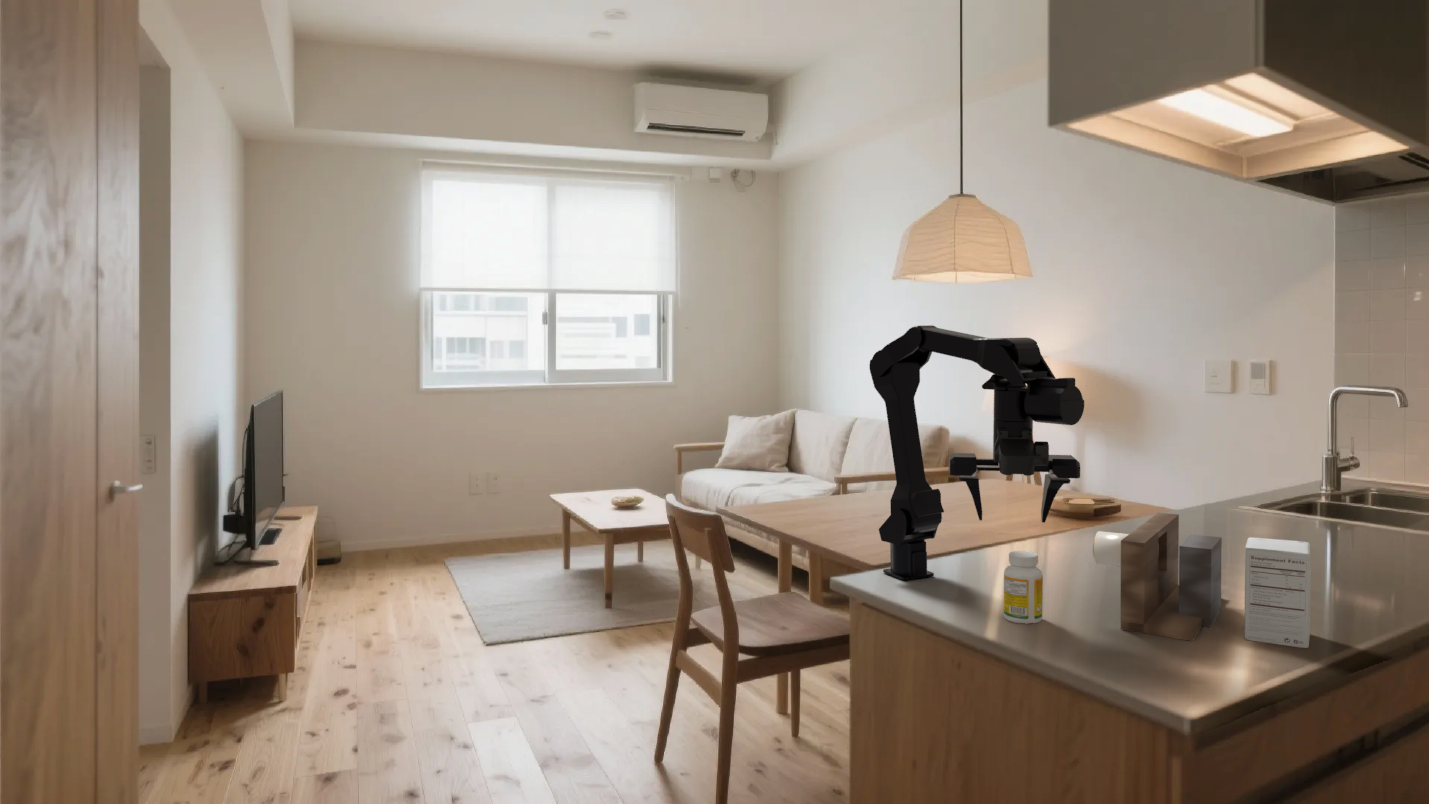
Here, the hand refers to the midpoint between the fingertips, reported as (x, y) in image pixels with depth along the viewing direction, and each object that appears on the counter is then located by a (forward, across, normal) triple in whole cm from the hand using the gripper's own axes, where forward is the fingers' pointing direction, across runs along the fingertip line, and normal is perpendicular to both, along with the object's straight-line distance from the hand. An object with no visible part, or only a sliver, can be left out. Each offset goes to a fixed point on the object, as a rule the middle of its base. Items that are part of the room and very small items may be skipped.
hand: (1011, 521), depth 139 cm
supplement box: (+12, +33, -12) cm, 37 cm away
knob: (+6, +16, 0) cm, 18 cm away
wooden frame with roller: (+12, +23, -3) cm, 26 cm away
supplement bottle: (+13, +1, -8) cm, 15 cm away
